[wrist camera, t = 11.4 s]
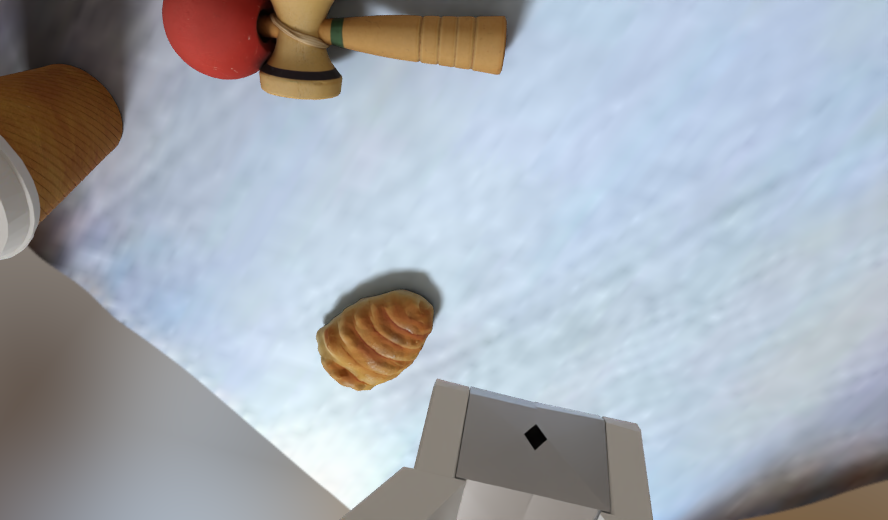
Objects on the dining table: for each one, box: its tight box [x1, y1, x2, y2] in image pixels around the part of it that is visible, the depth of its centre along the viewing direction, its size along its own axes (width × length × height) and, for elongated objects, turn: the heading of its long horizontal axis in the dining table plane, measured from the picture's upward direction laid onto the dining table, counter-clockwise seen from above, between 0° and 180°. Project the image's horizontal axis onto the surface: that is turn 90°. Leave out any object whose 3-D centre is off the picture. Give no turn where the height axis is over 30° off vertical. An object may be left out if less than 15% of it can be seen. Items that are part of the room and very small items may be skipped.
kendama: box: [162, 0, 507, 100], centre depth 34 cm, size 8×6×18 cm
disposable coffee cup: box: [0, 64, 122, 260], centre depth 37 cm, size 10×10×12 cm
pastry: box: [316, 289, 434, 391], centre depth 46 cm, size 9×7×4 cm
